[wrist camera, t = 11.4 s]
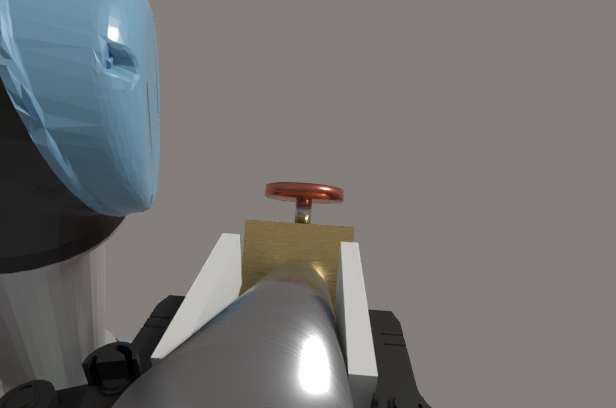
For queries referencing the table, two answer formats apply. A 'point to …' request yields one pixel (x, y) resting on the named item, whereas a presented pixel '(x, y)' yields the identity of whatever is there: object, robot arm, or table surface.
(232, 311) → the valve pipe
